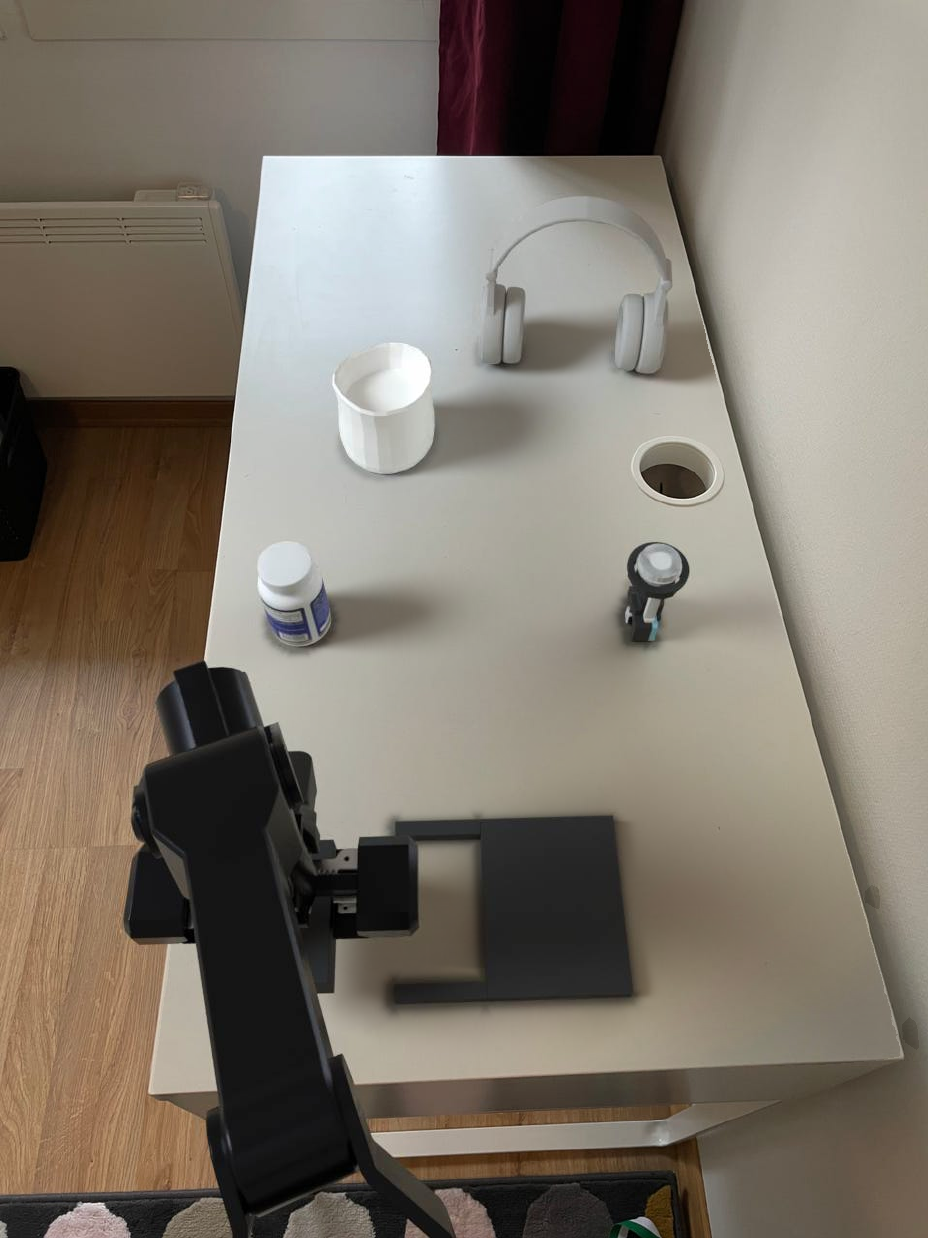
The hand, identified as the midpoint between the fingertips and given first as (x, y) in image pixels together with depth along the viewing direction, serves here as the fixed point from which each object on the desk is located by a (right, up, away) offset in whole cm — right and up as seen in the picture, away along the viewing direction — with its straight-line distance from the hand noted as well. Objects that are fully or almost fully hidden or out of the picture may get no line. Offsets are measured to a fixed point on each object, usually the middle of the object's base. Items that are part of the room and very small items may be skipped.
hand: (294, 920), depth 70 cm
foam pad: (0, -1, +1) cm, 1 cm away
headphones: (+24, +51, +38) cm, 68 cm away
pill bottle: (-3, +22, +20) cm, 30 cm away
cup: (+4, +41, +32) cm, 52 cm away
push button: (+29, +22, +21) cm, 42 cm away
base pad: (+15, -1, +6) cm, 16 cm away
